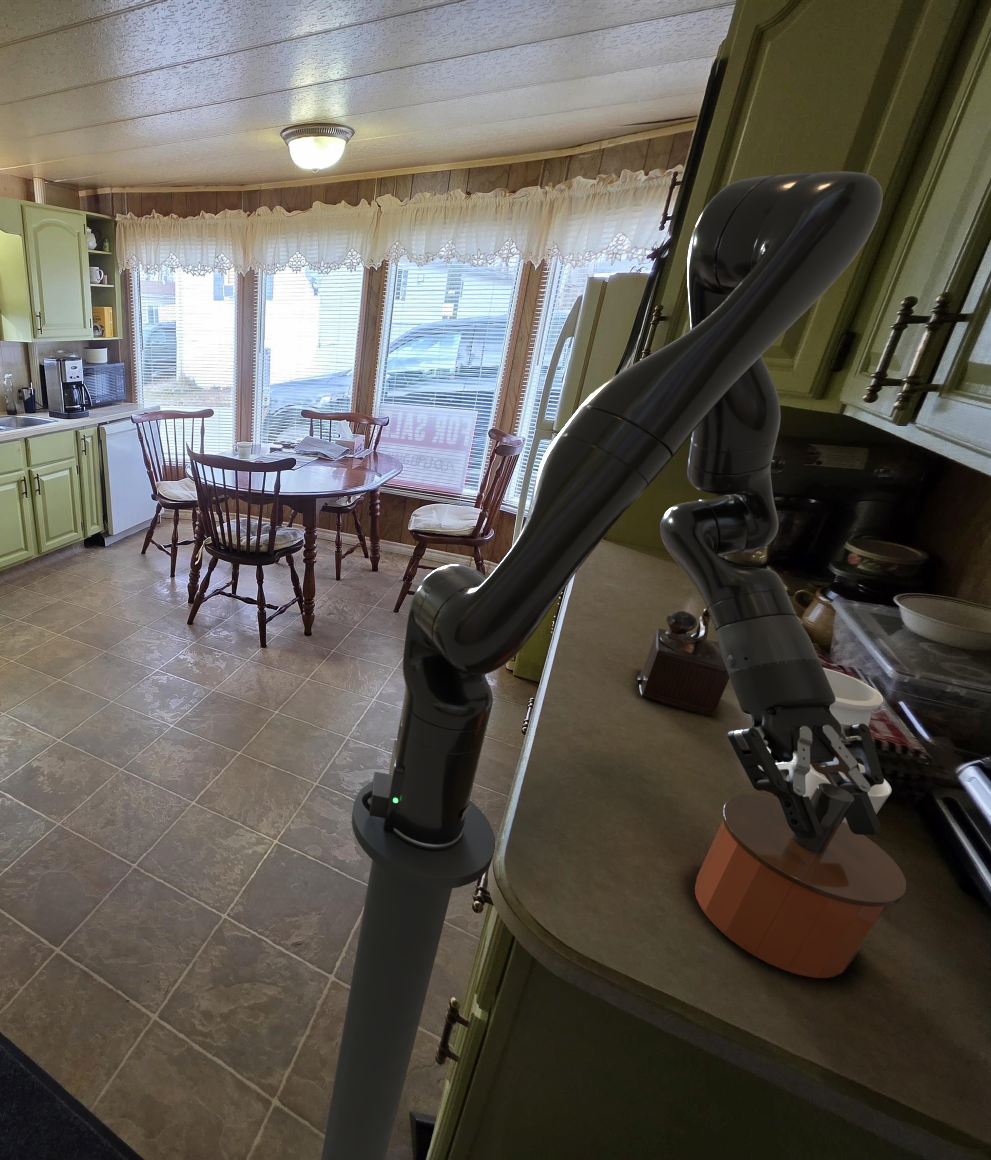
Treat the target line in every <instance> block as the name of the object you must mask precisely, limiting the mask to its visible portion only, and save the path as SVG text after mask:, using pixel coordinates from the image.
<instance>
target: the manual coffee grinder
mask: <svg viewBox="0 0 991 1160" xmlns="http://www.w3.org/2000/svg"><path fill="white" fill-rule="evenodd" d="M665 621H666V623H667V625H668V630H667V629H663V628H658V629H657V630H656V631H655V635H654V637H653V640H652V643H651V645H650V648H649V651H648V654H647V656H646V660H645V663H644V665H643V668H642V669H641V670H640V674H639V675H637V677H636V681H637V683H638V686H639V692H640V695H641V697H642V698H645V699H648V700H651V701H653V702H656V703H659V704H662V705H665V706H669V707H672V708H676V709H679V710H683V711H687V712H690V713H693V714H698V715H703V716H706V717H713V716H714V713H715V711H716V709H717V707H718V705H719V703H720V701H721V699H722V696H723V694H724V693H725V690H726V687H727V684H728V682H729V681H730V678H729V675H728V672H727V669H726V666H725V664H724V661H723V658H722V656H721V653H720V649H719V644H718V641H714V640H710V639H707V638H708V635H709V625H710V621H711V618H710V615H709V612H708V609H707V608H704V609H702V615H700V616H699V618H698V620H697V617H695V615H693V613H689V612H687V611H684V610H682V611H672V612H671V613H670V614H669V615H667V617H666V619H665ZM698 621H699V622H698ZM696 627H697V628H696ZM695 628H696V630H695V633H691V632H692V631H693V630H694V629H695Z"/></svg>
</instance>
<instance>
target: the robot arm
mask: <svg viewBox="0 0 991 1160" xmlns="http://www.w3.org/2000/svg"><path fill="white" fill-rule="evenodd" d="M883 197H884V195H883V188H882V186H881V185H880V183H879V182H878V180H877V178H876V177H873V176H871V175H870V174H867V173H864V172H857V171H844V170H843V171H841V170H835V171H819V172H804V173H788V174H787V173H786V174H775V175H763V176H762V175H761V176H751V177H745V178H742V179H739V180H736V181H734V182H732V183H730V184H727V186H724V187H723V188H722V189H720V191H718V192H717V193H716V194H715V195H714V196H713V197H712V198H711V199H710V201H709V202H708V203H707V204H706V206H705V207H704V209H703V210H702V212H701V214H700V215H699V217H698V218H697V221H696V224H695V226H694V228H693V230H692V233H691V237H690V241H689V247H688V252H687V268H686V269H687V270H686V271H687V272H686V273H687V275H686V276H687V277H686V279H687V295H688V307H689V308H688V309H689V324H690V330H689V331H688V332H686V333H684V334H683V335H682V336H679V337H678V338H677V339H675V340H674V341H672V342H670V343H668V344H667V345H665V346H663V347H662V348H660V349H659V350H657V351H654V352H652V353H651V354H650V355H648V356H645V357H644V358H642V359H641V360H639V361H637V362H636V363H633V364H632V365H630V366H629V367H627V368H626V369H623V370H622V371H620V372H619V373H618V374H616V375H614V376H612V377H611V378H610V379H609V380H607V381H606V382H604V383H603V384H601V385H600V386H599V387H597V388H596V389H595V390H593V392H591V394H589V395H588V397H587V398H586V399H585V400H584V401H583V403H582V404H581V405H580V406H579V407H578V409H576V411H575V413H573V415H572V416H571V418H570V419H569V420H568V421H567V423H566V424H565V426H564V427H562V429H561V430H560V432H559V433H558V434H557V436H555V438H554V439H553V441H551V444H550V445H549V447H548V448H547V450H546V452H545V453H544V455H543V457H542V460H541V462H540V464H539V468H538V470H537V474H536V478H535V480H534V484H533V489H532V493H531V497H530V501H529V502H530V503H529V506H528V511H527V514H526V517H525V521H524V524H523V526H522V528H521V531H520V533H519V535H518V537H517V539H516V540H515V542H514V544H513V545H512V547H511V548H510V550H509V551H508V552H507V553H506V555H505V556H504V557H503V559H501V561H500V563H498V565H497V566H496V568H495V569H494V570H493V572H492V573H491V574H490V575H489V576H486V575H484V573H482V572H480V571H479V570H477V569H476V568H474V567H472V566H469V565H466V564H459V563H458V564H456V563H455V564H447V565H443V566H441V567H438V568H436V569H434V570H433V571H431V572H430V573H429V574H427V576H425V577H424V578H423V579H422V581H421V582H420V584H418V587H417V588H416V589H415V592H414V593H413V596H412V600H411V601H410V605H409V610H408V615H407V622H406V629H405V637H404V647H403V656H402V676H403V681H404V695H403V702H402V705H401V706H402V707H401V713H400V719H399V724H398V731H397V736H396V739H394V740H393V741H394V742H393V746H392V751H391V752H392V753H391V759H390V763H389V764H390V765H389V770H388V773H384V772H379V771H373V778H372V781H373V783H372V790H371V791H369V792H367V793H366V794H364V795H363V797H362V803H363V805H364V807H365V808H366V809H367V810H368V811H369V812H370V816H375V817H379V818H384V826H383V830H384V831H385V832H389V833H392V834H394V835H395V836H396V837H397V838H399V839H400V840H402V841H403V842H405V843H407V844H408V845H410V846H413V847H415V848H418V849H422V850H427V851H444V850H447V849H450V848H452V847H454V846H455V845H457V844H458V842H459V841H460V839H461V837H462V833H463V828H464V821H465V817H466V814H467V812H468V811H469V810H470V808H471V806H472V802H473V801H474V799H472V800H470V799H471V796H472V792H473V788H474V784H475V779H476V775H477V771H478V766H479V763H480V758H481V754H482V750H483V745H484V743H485V737H486V734H487V729H488V725H489V720H490V717H491V713H492V708H493V704H494V696H493V691H492V689H491V686H490V684H489V681H488V679H487V677H486V675H488V674H490V673H493V672H495V671H497V670H499V669H500V668H503V667H504V666H505V665H506V664H508V663H509V662H510V661H511V660H513V659H514V658H515V657H516V656H517V655H518V653H520V652H521V650H522V649H523V648H524V647H525V645H526V644H527V643H528V642H529V641H530V639H531V638H532V637H533V636H534V634H535V632H536V631H537V629H538V628H539V627H540V625H541V623H542V622H543V621H544V620H545V618H546V616H547V615H548V613H549V612H550V610H551V609H552V607H554V604H555V603H556V601H557V600H558V599H559V597H560V596H561V595H562V593H563V591H564V590H565V589H566V587H567V586H568V585H569V583H570V582H571V580H572V579H573V577H574V576H575V574H577V572H578V570H579V569H581V567H582V566H583V564H584V563H585V561H586V560H587V559H588V558H589V556H591V554H592V553H593V552H594V550H595V549H596V548H597V547H598V545H599V544H600V543H601V542H602V541H603V539H604V538H605V537H606V536H607V535H608V533H609V532H610V530H612V529H613V527H614V525H615V524H616V523H617V522H618V521H619V519H621V517H622V516H623V515H624V514H625V512H626V511H627V510H629V508H630V507H631V506H632V505H633V504H634V502H636V501H637V499H639V497H640V496H641V495H642V494H643V493H644V492H645V491H646V490H647V488H648V487H649V486H650V485H651V484H652V482H653V481H654V480H655V479H656V478H657V476H659V474H660V473H661V472H662V471H663V469H665V467H667V465H668V464H669V462H670V461H671V460H672V459H673V458H674V456H675V455H676V454H677V453H678V452H679V450H680V449H681V448H682V446H683V445H684V444H685V442H686V441H688V439H689V437H690V436H691V439H690V440H691V441H690V447H689V453H688V454H689V455H688V460H687V461H688V462H687V469H686V470H687V474H686V475H687V480H688V482H689V483H690V485H692V487H694V488H695V489H697V490H698V491H700V492H704V493H708V494H713V495H720V496H713V497H708V498H701V499H698V500H691V501H686V502H681V503H677V504H674V505H673V506H671V507H669V508H668V509H667V510H666V511H665V512H664V514H663V516H662V518H661V520H660V525H659V533H660V537H661V538H660V539H661V540H662V543H663V545H664V547H665V549H666V551H667V552H668V553H669V555H670V556H671V557H672V559H673V560H674V561H675V563H677V566H679V567H680V568H681V570H682V571H683V572H684V574H685V575H686V577H687V578H688V579H689V580H690V582H691V583H692V584H693V586H694V587H695V589H696V590H697V591H698V593H699V595H700V597H701V598H702V600H703V601H704V604H705V607H706V609H708V612H709V615H710V618H711V619H710V621H711V623H712V625H713V628H714V631H715V634H716V638H717V642H718V644H719V649H720V653H721V656H722V658H723V661H724V664H725V666H726V669H727V672H728V675H729V681H730V683H731V685H732V688H733V691H734V693H735V696H736V699H737V702H738V705H739V708H740V711H742V712H743V713H744V714H746V715H749V716H751V727H748V728H743V729H742V728H741V729H736V730H730V731H728V732H727V739H728V741H729V742H730V744H731V746H732V748H733V750H734V752H735V754H736V756H737V758H738V760H739V762H740V764H741V765H742V768H743V770H744V772H745V774H746V775H747V777H748V779H749V782H750V784H751V785H752V787H753V788H754V790H756V791H759V792H761V791H764V792H767V793H770V794H772V795H773V796H774V797H778V799H779V801H780V804H781V806H782V809H783V812H784V814H785V817H786V819H787V822H788V825H789V827H790V828H791V830H792V831H794V834H795V835H796V836H797V837H799V838H821V837H822V836H823V832H822V829H821V827H820V824H819V822H818V819H817V816H816V814H815V811H814V809H813V806H812V804H811V801H810V798H809V796H805V797H803V795H805V793H806V782H805V776H806V774H807V773H809V771H810V764H811V766H812V767H813V768H814V770H815V771H817V772H818V773H821V774H823V775H824V776H825V777H826V778H827V779H828V781H829V782H830V783H831V784H832V785H835V786H838V787H840V788H842V789H844V790H846V791H848V792H849V793H850V794H851V795H852V796H853V797H854V802H853V803H852V805H851V807H850V809H849V810H848V812H847V814H846V816H845V818H846V821H847V823H848V825H849V828H850V830H851V831H852V832H853V833H854V834H857V835H864V836H872V835H873V836H874V835H880V834H881V833H882V830H881V825H880V820H879V818H878V815H877V814H876V812H875V811H874V808H873V805H872V803H871V801H870V798H869V796H868V792H869V791H870V790H871V787H872V786H874V785H880V784H883V783H884V779H885V778H884V775H883V771H882V768H881V765H880V761H879V757H878V753H877V750H876V747H875V743H874V739H873V736H872V733H871V730H870V726H867V725H865V724H853V725H846V724H840V723H839V722H838V720H837V719H836V718H835V717H834V716H833V715H832V713H831V712H830V709H829V707H830V705H831V704H833V703H834V702H835V700H836V698H835V695H834V693H833V691H832V688H831V686H830V684H829V681H828V679H827V677H826V674H825V672H824V670H823V668H824V667H823V665H822V663H821V661H820V658H819V656H818V654H817V651H816V649H815V646H814V645H813V642H812V639H811V637H810V636H809V633H808V632H807V630H806V629H805V627H804V626H803V624H802V622H801V621H800V619H799V617H798V616H797V612H796V609H795V607H794V604H793V603H792V600H791V598H790V596H789V593H788V591H787V589H786V587H785V584H784V582H783V580H782V578H781V576H780V575H779V574H778V573H777V572H775V571H774V570H772V569H769V568H766V567H752V566H749V567H748V566H739V565H738V566H737V565H735V564H731V563H729V562H728V561H727V560H726V559H725V560H724V558H725V557H730V556H731V557H732V556H736V555H744V554H750V553H755V552H758V551H761V550H763V549H764V548H766V547H768V546H769V544H771V542H773V540H775V538H776V536H777V535H778V531H779V527H780V522H779V517H778V512H777V508H776V503H775V499H774V493H773V483H772V475H771V474H772V472H771V470H772V469H771V468H772V462H773V459H774V455H775V449H776V445H777V441H778V435H779V432H780V426H781V419H782V417H781V404H780V397H779V393H778V390H777V387H776V385H775V381H774V380H773V378H772V375H771V373H770V371H769V368H768V366H767V364H766V363H767V362H765V359H764V356H763V355H764V353H765V352H766V351H767V350H768V349H770V348H771V346H772V345H774V344H775V342H776V341H777V340H779V339H780V338H781V337H782V335H784V334H785V333H786V332H787V331H788V330H789V329H790V328H791V327H792V326H793V325H794V324H795V323H796V322H797V321H798V319H800V318H801V317H802V316H803V315H805V313H806V312H808V310H809V309H810V308H811V307H812V306H813V305H814V304H815V303H816V302H817V301H818V300H820V298H821V297H822V296H823V295H824V294H825V293H826V292H827V291H828V290H829V289H830V288H831V287H832V285H834V283H836V281H837V280H838V279H839V278H840V277H841V275H842V274H843V273H844V272H845V271H846V270H847V268H848V267H849V266H850V265H851V264H852V263H853V262H854V260H855V258H856V257H857V255H858V254H859V253H860V252H861V250H862V248H863V247H864V246H865V244H866V243H867V242H868V240H869V238H870V235H871V234H872V232H873V230H874V228H875V226H876V223H877V221H878V219H879V216H880V213H881V211H882V207H883V200H884V199H883ZM835 757H836V758H837V759H838V760H833V759H834V758H835ZM782 761H784V763H782ZM859 762H862V763H863V764H862V765H863V766H864V768H865V771H866V772H863V773H861V772H860V769H859V765H858V763H859ZM758 765H759V766H761V767H762V769H763V771H762V770H761V769H760V768H759V767H758ZM762 772H764V774H765V776H766V777H765V776H764V775H763V773H762ZM839 772H842V773H844V774H845V776H846V778H845V779H843V777H842V776H841V775H840V774H839ZM787 775H789V781H786V777H787ZM369 798H371V802H370V804H369V803H368V799H369ZM469 800H470V801H471V803H470V804H469ZM473 803H474V802H473ZM468 804H469V805H468Z"/></svg>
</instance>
